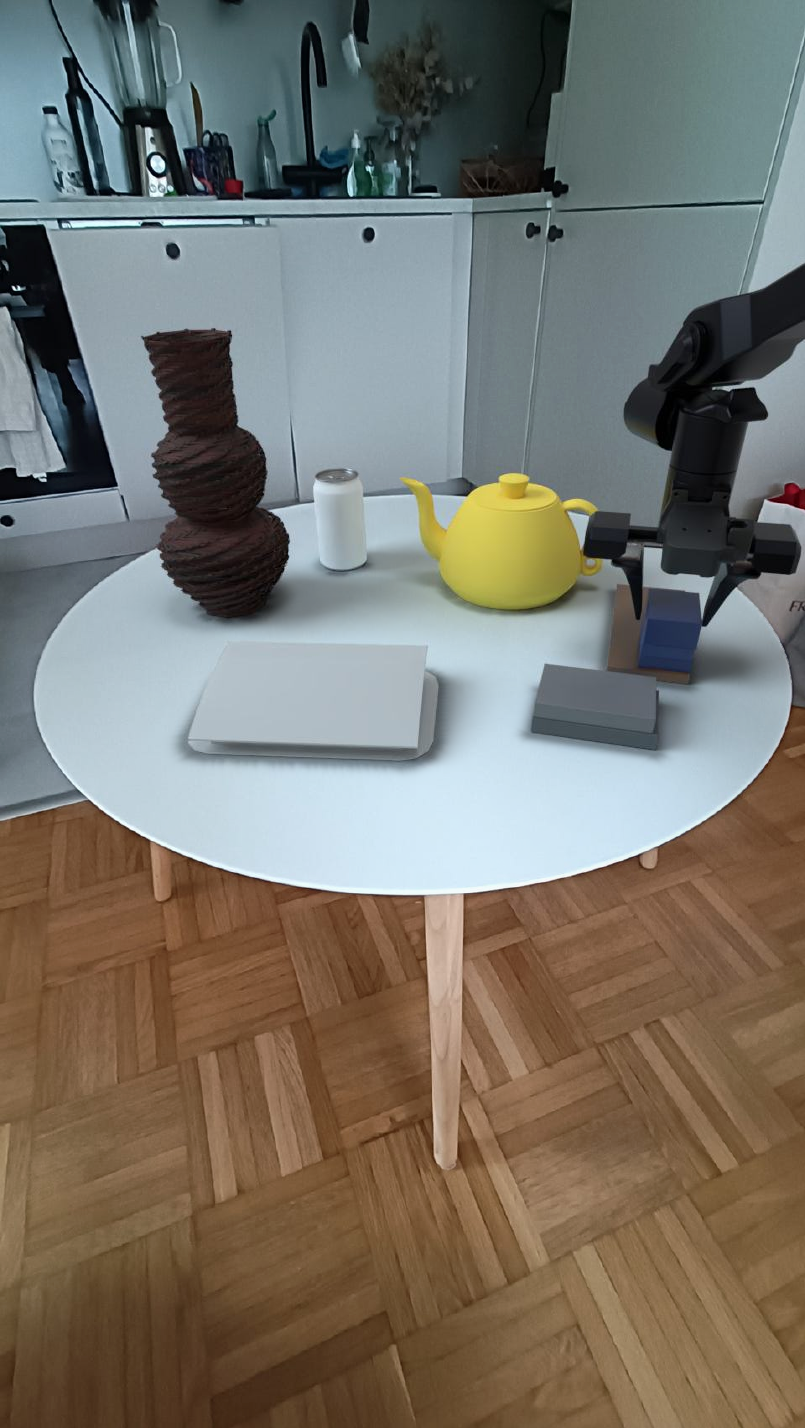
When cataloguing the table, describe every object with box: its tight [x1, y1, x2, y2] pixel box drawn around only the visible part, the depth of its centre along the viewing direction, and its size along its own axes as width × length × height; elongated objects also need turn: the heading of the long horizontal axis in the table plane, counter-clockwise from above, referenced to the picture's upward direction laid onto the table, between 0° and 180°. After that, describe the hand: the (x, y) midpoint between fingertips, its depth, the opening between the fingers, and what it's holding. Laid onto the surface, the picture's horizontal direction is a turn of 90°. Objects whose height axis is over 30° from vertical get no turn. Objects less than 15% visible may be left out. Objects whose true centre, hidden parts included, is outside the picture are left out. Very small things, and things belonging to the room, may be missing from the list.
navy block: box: [643, 588, 703, 650], centre depth 72 cm, size 7×5×3 cm
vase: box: [140, 327, 291, 619], centre depth 81 cm, size 15×15×30 cm
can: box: [312, 467, 368, 572], centre depth 96 cm, size 6×6×12 cm
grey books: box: [530, 663, 660, 751], centre depth 67 cm, size 11×8×3 cm
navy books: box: [638, 615, 695, 674], centre depth 74 cm, size 7×5×3 cm
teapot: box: [399, 472, 604, 611], centre depth 88 cm, size 25×18×14 cm
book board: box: [605, 583, 691, 685], centre depth 80 cm, size 8×20×1 cm, turn 163°
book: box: [187, 640, 440, 762], centre depth 69 cm, size 15×23×4 cm, turn 85°
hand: (670, 621), depth 73 cm, fingers open, 6 cm apart
